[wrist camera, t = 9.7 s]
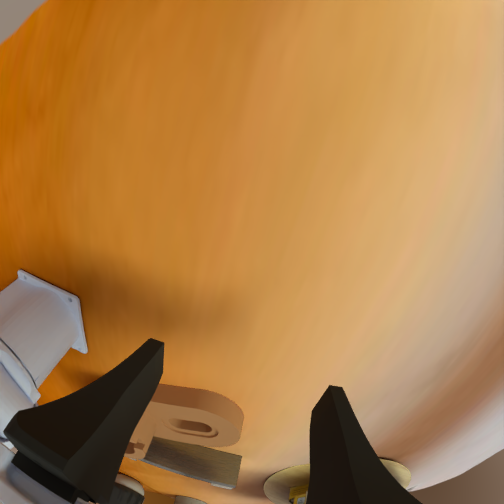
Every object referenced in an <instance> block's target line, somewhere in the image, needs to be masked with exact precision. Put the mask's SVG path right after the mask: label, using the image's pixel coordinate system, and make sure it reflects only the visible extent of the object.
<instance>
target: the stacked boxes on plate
mask: <svg viewBox="0 0 504 504" xmlns="http://www.w3.org/2000/svg"><path fill="white" fill-rule="evenodd" d="M380 460H381V462H382V463H383V465H384V466H385V467H386V468H387V470H388V471H389V472H390V473H391V474H392V476H393V477H394V478H395V479H396V480H397V481H398V482H399V483H400V485H401V486H402V487H403V488H405V489H406V487H407V486H408V485H409V483H410V480H411V474H410V471H409V470H408V469H407V468H406V467H405V466H403V465H401V464H399V463H397V462H393V461H390V460H384V459H380ZM309 478H310V464H305V465H299V466H294V467H290V468H287V469H284V470H281V471H279V472H277V473H276V474H274V475H272V476H271V477H270V478H268V479H267V481H266V482H265V484H264V488H263V489H264V493H265V495H266V496H267V497H268V498H269V500H271V501H272V502H273V503H275V504H306V499H307V493H308V486H309Z"/></svg>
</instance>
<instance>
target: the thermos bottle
mask: <svg viewBox="0 0 504 504" xmlns="http://www.w3.org/2000/svg"><path fill="white" fill-rule="evenodd" d="M174 504H207V503H205V502H203V501H200V500H197V499H194V498H190V497H185V496H176V499H175V502H174Z"/></svg>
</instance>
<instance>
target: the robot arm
mask: <svg viewBox="0 0 504 504" xmlns="http://www.w3.org/2000/svg"><path fill="white" fill-rule="evenodd" d="M71 347H72V348H74V349H76V350H78V351H80V352H82V353H84V354H86V353H87V352H88V349H87V344H86V339H85V333H84V327H83V321H82V315H81V308H80V301H79V299H78V297H77V296H75V295H73V294H71V293H68V292H66V291H64V290H62V289H60V288H58V287H55V286H53V285H51V284H49V283H47V282H45V281H43V280H41V279H39V278H37V277H35V276H33V275H31V274H29V273H27V272H25V271H23V270H21V269H20V270H19V271H18V279H17V280H15V281H14V282H13V283H11V284H10V285H9V286H8V287H6V288H5V289H4V290H2V291H1V292H0V502H2V503H3V504H90V503H88V502H89V501H90V502H93V503H95V504H96V503H99V504H107V503H109V500H110V497H111V493H112V490H113V486H114V483H115V480H116V477H117V474H118V471H119V468H120V465H121V462H122V459H123V457H124V454H125V451H126V449H127V446H128V444H129V441H130V439H131V436H132V434H133V432H134V430H135V428H136V426H137V424H138V422H139V421H140V419H141V417H142V415H143V413H144V411H145V410H146V408H147V406H148V404H149V402H150V401H151V399H152V397H153V395H154V393H155V391H156V389H157V386H158V384H159V381H160V379H161V376H162V374H163V359H164V342H161V341H158V340H155V339H152V338H150V339H148V340H147V341H146V342H145V343H144V344H143V345H142V346H141V347H140V348H138V349H137V350H136V351H135V352H134V353H133V354H131V355H130V356H129V357H128V358H127V359H125V360H124V361H123V362H121V363H120V364H119V365H118V366H116V367H115V368H114V369H112V370H111V371H109V372H108V373H106V374H105V375H103V376H102V377H101V378H99V379H97V380H96V381H94V382H93V383H91V384H89V385H87V386H85V387H84V388H82V389H80V390H78V391H76V392H74V393H72V394H70V395H67V396H65V397H63V398H60V399H58V400H55V401H52V402H49V403H46V404H44V405H40V406H39V405H38V403H37V400H38V399H39V398H40V396H41V395H40V394H39V392H38V391H37V389H38V388H39V386H40V385H41V384H42V383H43V381H44V380H45V379H46V377H47V376H48V375H49V374H50V372H51V371H52V370H53V368H54V367H55V366H56V365H57V363H58V362H59V361H60V360H61V359H62V357H63V356H64V355H65V354H66V352H67V351H68V350H69V349H70V348H71ZM14 446H15V448H17V450H18V451H17V453H16V454H15V453H13V452H12V451H11V450H10V449H12V448H13V447H14ZM306 504H422V503H421V502H419V501H418V500H417V499H415V498H414V497H413V496H412V495H411V494H410V493H409V492H408V491H407V490H406V489H405V488H403V487H402V486H401V485H400V483H399V482H398V481H397V480H396V479H395V478H394V477H393V476H392V474H391V473H390V472H389V471H388V470H387V468H386V467H385V466H384V465H383V463H382V462H381V460H380V459H379V457H378V456H377V455H376V453H375V451H374V450H373V448H372V447H371V445H370V443H369V441H368V440H367V438H366V436H365V434H364V432H363V430H362V428H361V426H360V424H359V422H358V420H357V418H356V416H355V414H354V412H353V410H352V408H351V405H350V403H349V401H348V399H347V396H346V394H345V392H344V390H343V388H342V387H338V386H332V385H329V387H328V388H327V390H326V391H325V393H324V394H323V395H322V397H321V398H320V400H319V401H318V403H317V404H316V406H315V407H314V408H313V410H312V415H311V423H310V478H309V486H308V493H307V499H306Z"/></svg>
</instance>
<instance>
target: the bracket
mask: <svg viewBox="0 0 504 504" xmlns="http://www.w3.org/2000/svg"><path fill="white" fill-rule="evenodd" d="M243 420H244V414H243V411H242V410H241V408H240V407H239V406H238V405H237V404H236V403H235V402H233V401H232V400H230V399H229V398H227V397H225V396H223V395H220V394H218V393H215V392H212V391H208V390H203V389H195V388H187V387H179V386H172V385H165V384H158V386H157V389H156V391H155V393H154V395H153V397H152V399H151V401H150V402H149V404H148V406H147V408H146V410H145V411H144V413H143V415H142V417H141V419H140V421H139V422H138V424H137V426H136V428H135V430H134V432H133V434H132V436H131V439H130V441H129V444H128V446H127V449H126V451H125V454H124V456H125V457H128V458H132V459H143V458H144V457H145V455H146V453H147V450H148V448H149V445H150V443H151V441H152V438H153V436H155V437H159V438H164V439H169V440H174V441H179V442H184V443H190V444H196V445H202V446H209V447H227V446H231V445H233V444H235V443H237V442H238V441H239V439H240V435H241V430H242V425H243Z"/></svg>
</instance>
